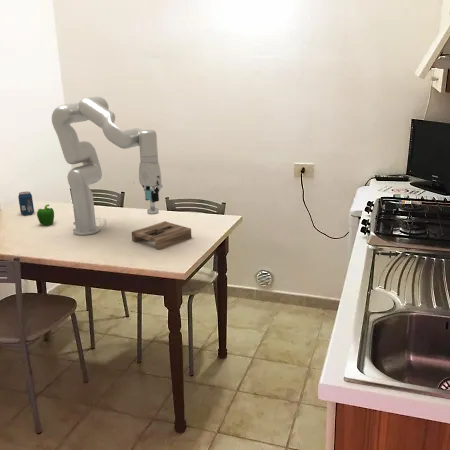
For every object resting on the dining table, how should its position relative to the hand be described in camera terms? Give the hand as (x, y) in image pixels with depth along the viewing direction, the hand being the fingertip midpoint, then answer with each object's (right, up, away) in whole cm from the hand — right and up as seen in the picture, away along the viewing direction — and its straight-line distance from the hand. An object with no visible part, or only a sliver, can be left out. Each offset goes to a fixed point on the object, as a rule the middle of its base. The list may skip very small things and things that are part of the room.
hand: (152, 200), depth 222 cm
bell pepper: (-58, -11, +35) cm, 69 cm away
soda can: (-76, -5, +54) cm, 93 cm away
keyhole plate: (+3, -18, +9) cm, 20 cm away
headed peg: (0, -6, +2) cm, 6 cm away
